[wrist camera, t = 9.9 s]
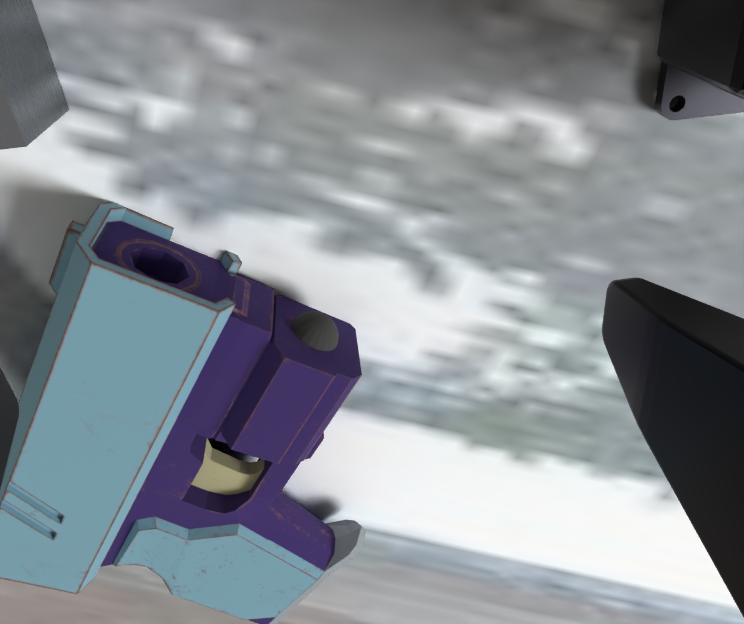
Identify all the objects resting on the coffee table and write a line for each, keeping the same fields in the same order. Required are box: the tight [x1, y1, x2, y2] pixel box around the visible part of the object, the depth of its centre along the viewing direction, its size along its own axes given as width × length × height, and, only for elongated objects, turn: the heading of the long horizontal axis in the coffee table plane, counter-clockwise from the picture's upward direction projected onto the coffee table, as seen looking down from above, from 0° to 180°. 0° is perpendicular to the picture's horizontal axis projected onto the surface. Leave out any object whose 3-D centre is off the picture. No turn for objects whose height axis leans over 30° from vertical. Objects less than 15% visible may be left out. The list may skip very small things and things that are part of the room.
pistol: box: [0, 203, 366, 624], centre depth 25 cm, size 4×16×15 cm
